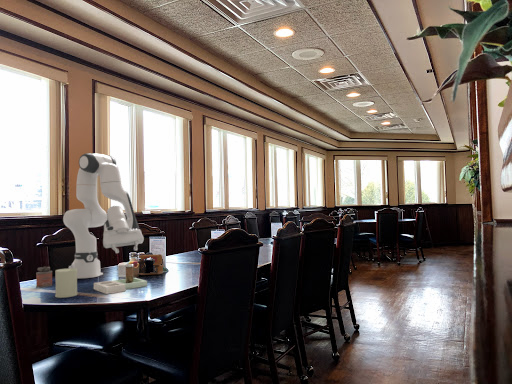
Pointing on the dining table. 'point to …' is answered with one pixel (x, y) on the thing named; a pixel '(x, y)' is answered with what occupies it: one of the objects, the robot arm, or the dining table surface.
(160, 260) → the condiment caddy
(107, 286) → the white shallow tray
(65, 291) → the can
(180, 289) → the dining table surface
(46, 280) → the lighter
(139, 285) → the parts tray
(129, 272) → the fuse
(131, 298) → the dining table surface
